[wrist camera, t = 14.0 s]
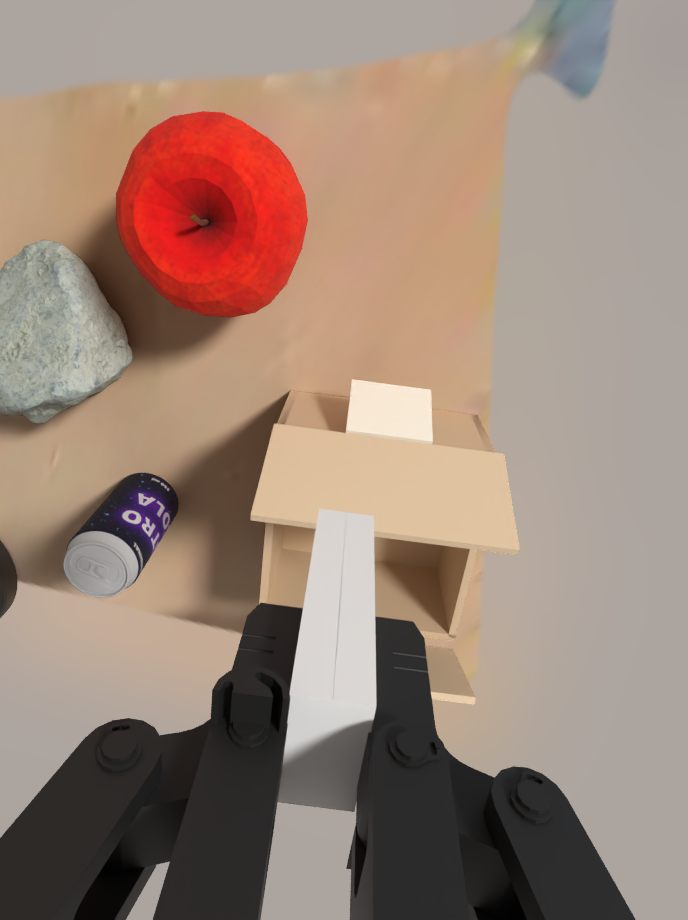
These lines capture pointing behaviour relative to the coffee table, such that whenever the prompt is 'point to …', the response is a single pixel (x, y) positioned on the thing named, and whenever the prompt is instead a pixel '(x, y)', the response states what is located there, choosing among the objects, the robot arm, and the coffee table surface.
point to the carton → (396, 561)
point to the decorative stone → (55, 333)
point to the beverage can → (120, 536)
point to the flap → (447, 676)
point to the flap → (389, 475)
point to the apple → (211, 214)
